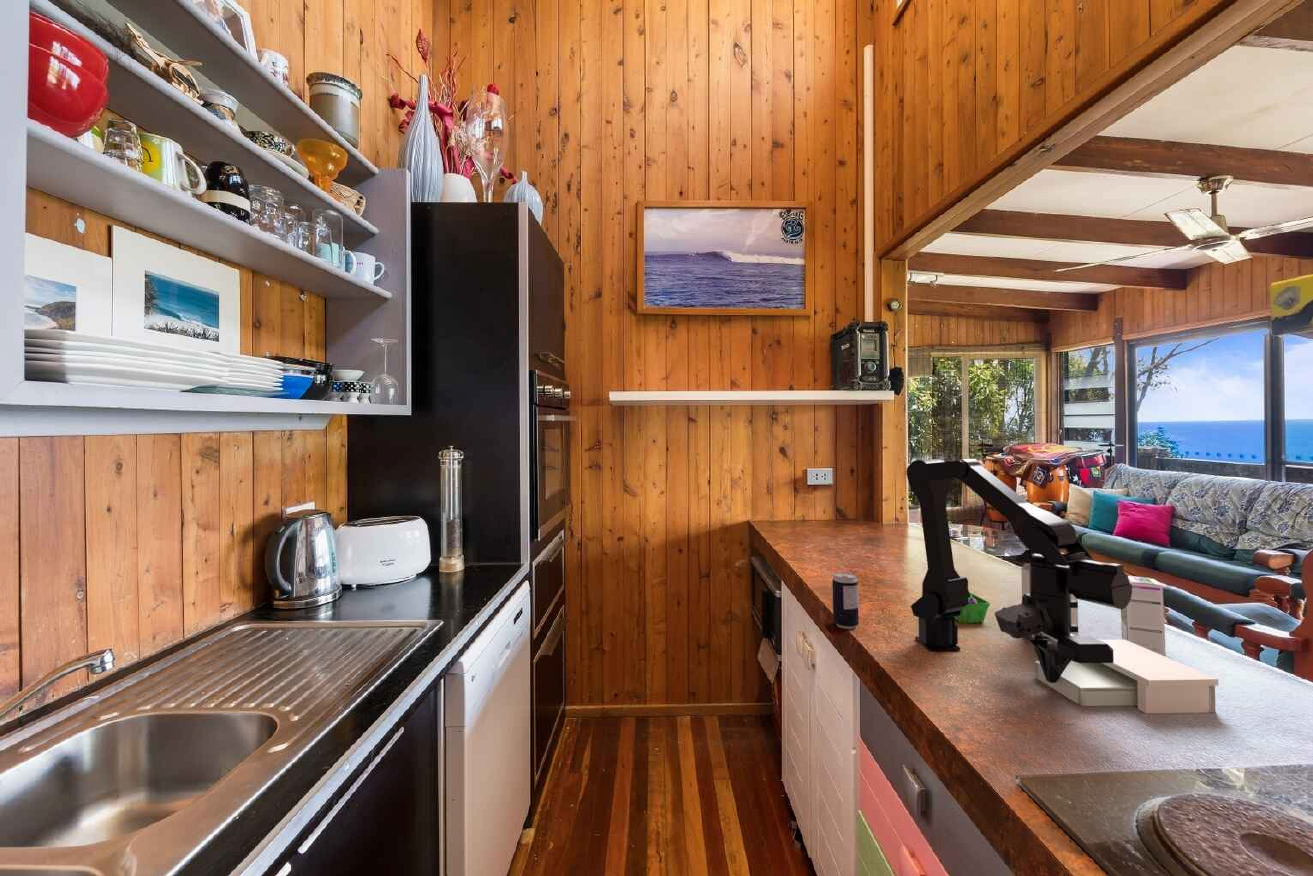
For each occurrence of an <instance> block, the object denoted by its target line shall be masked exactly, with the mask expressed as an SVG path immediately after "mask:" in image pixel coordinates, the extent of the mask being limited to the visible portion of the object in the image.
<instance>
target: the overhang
mask: <svg viewBox="0 0 1313 876" xmlns="http://www.w3.org/2000/svg"><path fill="white" fill-rule="evenodd" d="M1099 640H1100V641H1102V642H1104V643H1107V644H1108V645H1109V646H1110V647H1111V648H1112V649H1113V651H1114V662H1113V663H1103V664H1105V665H1107V666H1109V667H1111V668H1113V669H1115V670H1117V671H1119V672H1121V673H1123V674H1125V675H1127V676H1129V677H1131V678H1133V679H1135V680H1137V683H1138V705H1137V709H1138V710H1139V711H1141V712H1143V713H1145V714H1195V713H1197V714H1201V713H1203V714H1204V713H1205V714H1206V713H1216V687H1217V686H1219V679H1218V678H1216V677H1214V676H1211V675H1209V674H1207V673H1204V672H1202V671H1200V670H1197V669H1195V668H1193V667H1191V666H1188V665H1186V664H1183V663H1181V662H1180V661H1176V660H1174V659H1172V658H1169V657H1167V656H1162V655H1160V654H1158V653H1155V652H1153V651H1151V650H1148V649H1146V648H1144V647H1141V646H1139V645H1137V644H1134V643H1132V642H1130V641H1127V640H1125V639H1122V638H1121V639H1099ZM1071 661H1072V660H1071Z"/></svg>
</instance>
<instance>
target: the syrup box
mask: <svg viewBox="0 0 1313 876" xmlns="http://www.w3.org/2000/svg"><path fill="white" fill-rule="evenodd" d="M1127 576H1128V578H1129V581H1130V584H1131V585H1132V595H1131V599H1130V602H1129V604H1128V605H1127V607H1126V608H1124V609H1120V620H1121V621H1120V626H1121V627H1120V628H1121V639H1125V640H1127V641H1130V642H1132V643H1134V644H1137V645H1139V646H1141V647H1144V648H1146V649H1148V650H1151V651H1153V652H1155V653H1158V654H1160V655H1162V656H1165V657H1167V656H1166V630H1165V629H1166V628H1165V627H1166V626H1165V611H1164V586H1163V585H1162V584H1161V583H1160V582H1159V581H1157V580H1156V579H1155V578H1152V577H1145V576H1133V575H1127Z"/></svg>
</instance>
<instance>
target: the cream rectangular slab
mask: <svg viewBox="0 0 1313 876" xmlns="http://www.w3.org/2000/svg"><path fill="white" fill-rule="evenodd" d="M1034 666H1035V679H1037V680H1039V681H1040V682H1042V683H1043V684H1045V685H1047V686H1048V687H1050V688H1052V689H1053V690H1054V691H1056V692H1057V693H1060V694H1061V695H1063V696H1064V697H1066V698H1067V699H1069V700H1071V701H1072V702H1074V703H1075V704H1077V705H1079V706H1080V707H1106V706H1107V707H1115V706H1117V707H1118V706H1119V707H1120V706H1122V707H1123V706H1126V707H1127V706H1138V683H1137V680H1135V679H1133V678H1131V677H1129V676H1127V675H1125V674H1123V673H1121V672H1119V671H1117V670H1115V669H1113V668H1111V667H1109V666H1107V665H1105V664H1103V663H1078V662H1074V661H1071V662H1070V663H1069V664H1068V666H1067V667H1066V668H1065V670H1064V671H1063V673H1062V674H1061V676H1060V677H1059V679H1058V680H1057V682H1056V683H1050V682H1048V681H1047V680H1046V678H1045V675H1044V673H1043V670H1042V667H1041V665H1040V662H1039V660H1036V661H1035V665H1034Z"/></svg>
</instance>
